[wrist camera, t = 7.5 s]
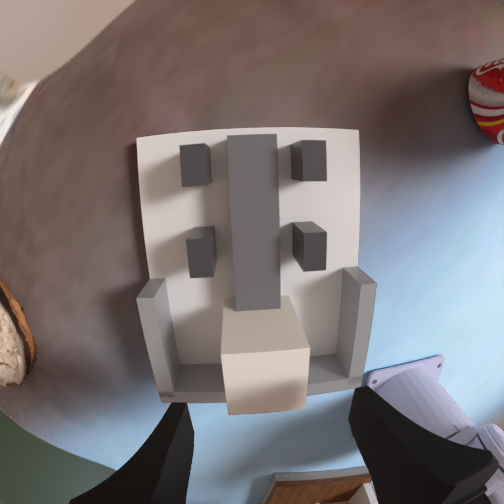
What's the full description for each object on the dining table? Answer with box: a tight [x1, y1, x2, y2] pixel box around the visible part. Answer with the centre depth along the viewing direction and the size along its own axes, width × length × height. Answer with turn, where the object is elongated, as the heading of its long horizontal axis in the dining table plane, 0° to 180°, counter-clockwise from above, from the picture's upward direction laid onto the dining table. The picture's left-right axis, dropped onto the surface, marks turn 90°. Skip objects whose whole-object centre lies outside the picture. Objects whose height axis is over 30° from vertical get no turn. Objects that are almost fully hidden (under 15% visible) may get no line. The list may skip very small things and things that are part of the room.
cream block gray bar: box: [221, 134, 310, 415], centre depth 15 cm, size 14×4×6 cm, turn 2°
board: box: [136, 127, 377, 403], centre depth 17 cm, size 16×13×4 cm
